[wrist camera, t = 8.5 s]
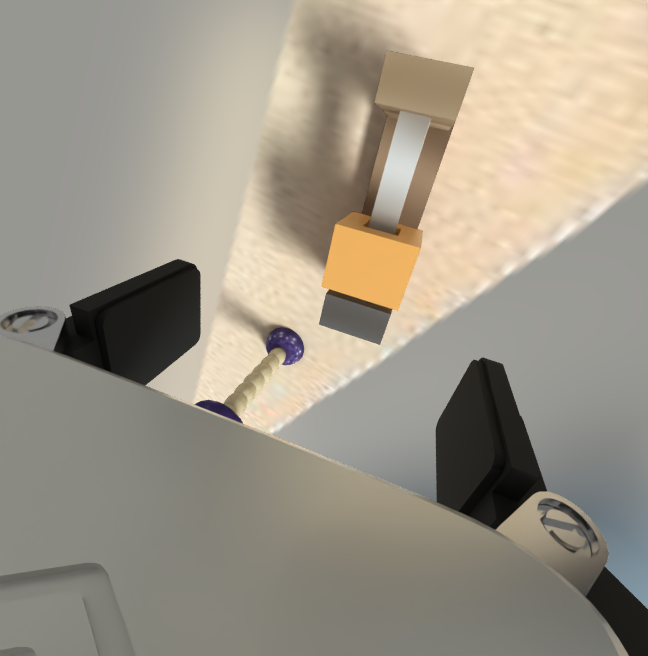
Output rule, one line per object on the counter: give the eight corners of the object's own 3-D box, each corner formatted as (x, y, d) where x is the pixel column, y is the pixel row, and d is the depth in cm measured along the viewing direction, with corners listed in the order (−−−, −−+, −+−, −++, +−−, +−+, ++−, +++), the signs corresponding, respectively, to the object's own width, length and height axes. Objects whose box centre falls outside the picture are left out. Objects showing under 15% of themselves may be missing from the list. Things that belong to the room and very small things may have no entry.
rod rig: (398, 84, 22) (382, 49, 15) (462, 98, 21) (478, 68, 14) (346, 283, 30) (318, 324, 22) (392, 298, 29) (379, 344, 22)
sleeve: (353, 211, 23) (335, 223, 19) (422, 230, 22) (420, 248, 18) (340, 264, 25) (321, 286, 21) (403, 283, 24) (397, 310, 20)
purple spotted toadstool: (257, 342, 36) (144, 463, 22) (277, 313, 33) (164, 429, 19) (292, 368, 36) (202, 504, 22) (314, 342, 34) (229, 476, 19)
